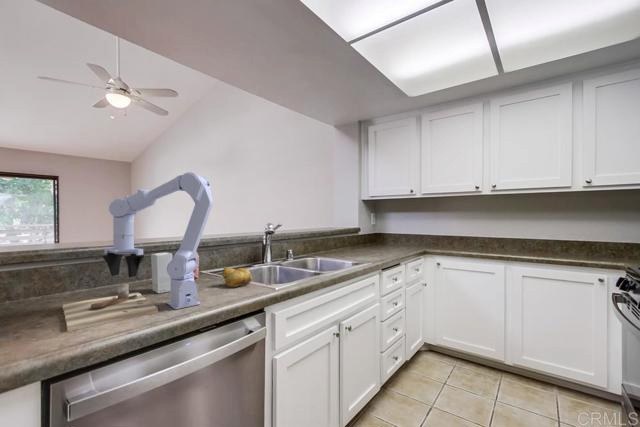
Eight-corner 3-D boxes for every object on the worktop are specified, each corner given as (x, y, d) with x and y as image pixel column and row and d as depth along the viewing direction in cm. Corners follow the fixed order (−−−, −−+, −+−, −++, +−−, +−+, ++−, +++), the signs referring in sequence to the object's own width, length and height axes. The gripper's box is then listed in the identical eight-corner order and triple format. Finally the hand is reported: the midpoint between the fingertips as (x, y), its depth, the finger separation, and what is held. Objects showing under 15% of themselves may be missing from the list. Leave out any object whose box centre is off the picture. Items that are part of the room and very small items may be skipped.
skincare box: (173, 291, 113) (173, 253, 113) (156, 294, 109) (156, 254, 109) (167, 287, 119) (167, 251, 119) (150, 290, 115) (150, 252, 115)
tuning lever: (95, 309, 87) (95, 293, 87) (88, 308, 88) (88, 292, 88) (139, 297, 100) (139, 282, 100) (132, 296, 101) (132, 281, 101)
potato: (246, 280, 132) (246, 263, 132) (258, 284, 125) (258, 265, 125) (220, 285, 123) (220, 266, 123) (231, 289, 116) (231, 269, 116)
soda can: (178, 282, 129) (178, 252, 129) (191, 278, 135) (191, 251, 135) (188, 283, 126) (188, 253, 126) (202, 280, 132) (202, 252, 132)
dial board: (158, 312, 89) (158, 308, 89) (67, 331, 74) (67, 326, 74) (137, 295, 108) (137, 291, 108) (62, 307, 93) (62, 303, 93)
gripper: (95, 236, 95) (95, 277, 95) (129, 236, 91) (129, 279, 91) (115, 234, 102) (115, 272, 102) (148, 235, 98) (148, 275, 98)
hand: (123, 275), depth 97 cm, fingers open, 7 cm apart
